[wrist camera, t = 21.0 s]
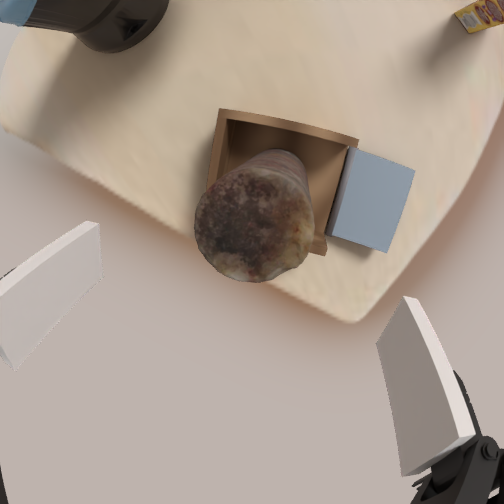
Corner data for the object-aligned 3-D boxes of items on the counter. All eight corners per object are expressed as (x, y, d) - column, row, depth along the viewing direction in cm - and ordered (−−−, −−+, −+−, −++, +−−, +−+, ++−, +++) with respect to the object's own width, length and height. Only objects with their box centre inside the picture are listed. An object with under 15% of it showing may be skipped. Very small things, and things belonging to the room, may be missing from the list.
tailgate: (324, 234, 35) (386, 254, 33) (349, 145, 30) (415, 169, 28) (325, 231, 36) (385, 251, 35) (349, 145, 31) (413, 168, 29)
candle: (240, 152, 33) (176, 188, 15) (298, 140, 31) (306, 157, 13) (255, 209, 36) (215, 300, 18) (311, 198, 34) (329, 284, 16)
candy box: (470, 36, 19) (531, 18, 5) (452, 13, 18) (508, -15, 4) (493, 22, 16) (548, 6, 2) (476, 0, 15) (527, -22, 1)
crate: (214, 211, 38) (201, 227, 32) (231, 111, 31) (219, 108, 26) (320, 236, 37) (324, 256, 32) (348, 137, 31) (358, 139, 25)
